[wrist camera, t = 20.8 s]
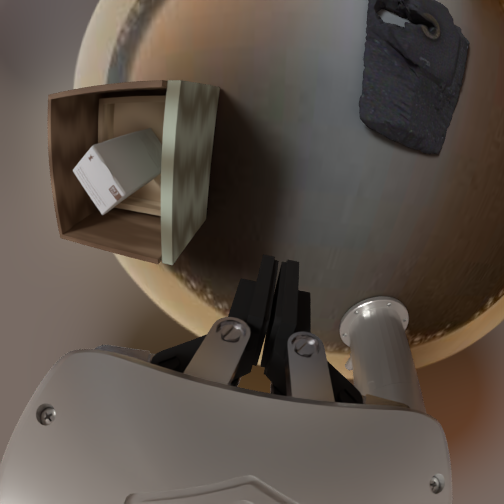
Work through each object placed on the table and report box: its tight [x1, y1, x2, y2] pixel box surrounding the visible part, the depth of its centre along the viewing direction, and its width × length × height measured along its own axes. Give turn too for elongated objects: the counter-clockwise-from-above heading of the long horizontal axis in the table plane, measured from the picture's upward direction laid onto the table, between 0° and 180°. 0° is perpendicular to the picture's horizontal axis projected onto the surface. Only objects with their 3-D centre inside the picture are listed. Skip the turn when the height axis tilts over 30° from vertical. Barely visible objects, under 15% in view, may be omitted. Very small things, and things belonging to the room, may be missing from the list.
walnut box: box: [48, 80, 168, 264], centre depth 28 cm, size 18×15×12 cm
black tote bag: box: [359, 0, 469, 154], centre depth 20 cm, size 15×22×5 cm
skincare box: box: [73, 128, 162, 215], centre depth 27 cm, size 6×4×12 cm
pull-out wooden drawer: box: [98, 80, 220, 265], centre depth 28 cm, size 18×15×12 cm
